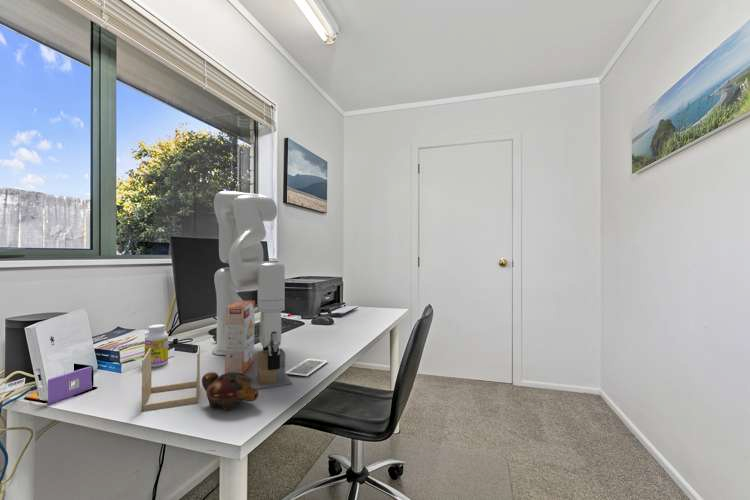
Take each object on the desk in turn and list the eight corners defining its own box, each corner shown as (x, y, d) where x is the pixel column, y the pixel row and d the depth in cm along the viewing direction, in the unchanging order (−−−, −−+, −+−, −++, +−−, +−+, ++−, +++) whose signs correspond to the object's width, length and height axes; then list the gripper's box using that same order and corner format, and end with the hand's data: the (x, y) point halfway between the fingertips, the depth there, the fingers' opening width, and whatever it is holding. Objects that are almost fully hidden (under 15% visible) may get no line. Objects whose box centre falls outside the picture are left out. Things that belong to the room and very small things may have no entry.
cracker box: (244, 375, 104) (245, 306, 104) (224, 375, 104) (224, 306, 104) (255, 360, 118) (255, 299, 118) (237, 361, 118) (237, 300, 118)
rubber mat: (250, 377, 102) (250, 376, 102) (285, 372, 106) (285, 371, 106) (254, 390, 93) (254, 388, 93) (291, 384, 97) (291, 382, 97)
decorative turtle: (214, 395, 90) (214, 365, 90) (268, 400, 87) (268, 368, 87) (187, 412, 80) (187, 378, 80) (246, 418, 77) (247, 383, 77)
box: (257, 378, 100) (257, 351, 100) (281, 374, 103) (281, 348, 103) (259, 384, 96) (259, 356, 96) (284, 380, 99) (284, 352, 99)
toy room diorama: (100, 389, 94) (101, 364, 94) (49, 409, 82) (49, 380, 82) (69, 385, 97) (69, 360, 97) (14, 403, 85) (14, 375, 85)
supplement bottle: (139, 368, 110) (139, 328, 110) (152, 361, 117) (152, 323, 117) (160, 367, 110) (161, 328, 111) (172, 361, 117) (172, 323, 117)
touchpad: (328, 363, 116) (328, 357, 116) (307, 379, 102) (307, 372, 102) (307, 361, 119) (307, 355, 119) (283, 376, 104) (284, 369, 104)
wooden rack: (149, 393, 91) (149, 347, 91) (199, 385, 96) (199, 342, 96) (141, 412, 80) (141, 360, 80) (198, 402, 85) (198, 354, 85)
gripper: (254, 302, 106) (254, 357, 106) (261, 311, 90) (261, 376, 90) (279, 300, 109) (278, 354, 109) (290, 308, 93) (290, 371, 93)
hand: (271, 364), depth 100 cm, fingers open, 9 cm apart
